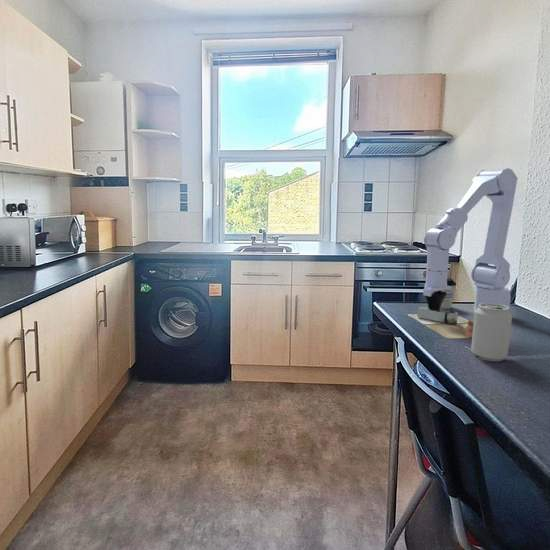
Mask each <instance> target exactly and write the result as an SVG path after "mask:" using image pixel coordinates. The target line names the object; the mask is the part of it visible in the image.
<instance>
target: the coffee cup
mask: <svg viewBox="0 0 550 550" xmlns="http://www.w3.org/2000/svg"><path fill="white" fill-rule="evenodd" d="M447 286H450V287H451V289H449V290H441V292H446V293H447V295H446V296H445V298H444V300H443V302H442V304H441V307H440V309H443V310H447V309H449V310H450V309H451V308H452V304H453V299H454V295H455V291H456V286H457V282H456V281H454V279H453V278H450V277H447Z"/></svg>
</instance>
